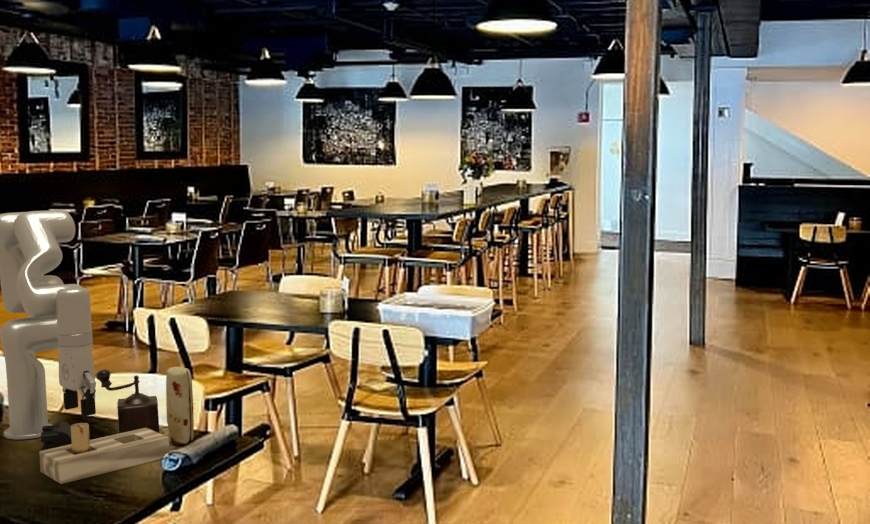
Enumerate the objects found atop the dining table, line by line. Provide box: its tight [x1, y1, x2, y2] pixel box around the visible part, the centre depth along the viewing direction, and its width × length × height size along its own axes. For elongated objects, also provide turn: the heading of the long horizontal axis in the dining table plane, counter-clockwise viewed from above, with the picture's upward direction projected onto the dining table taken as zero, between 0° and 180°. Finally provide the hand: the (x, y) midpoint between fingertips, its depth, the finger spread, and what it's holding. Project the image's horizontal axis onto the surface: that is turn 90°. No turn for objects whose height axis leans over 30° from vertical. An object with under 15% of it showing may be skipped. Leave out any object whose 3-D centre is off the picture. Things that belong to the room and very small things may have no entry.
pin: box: [70, 422, 91, 455], centre depth 219 cm, size 4×4×11 cm
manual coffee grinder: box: [95, 368, 160, 434], centre depth 245 cm, size 16×11×18 cm
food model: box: [165, 366, 195, 446], centre depth 239 cm, size 10×7×20 cm
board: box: [38, 428, 170, 485], centre depth 223 cm, size 12×27×5 cm, turn 134°
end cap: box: [40, 421, 72, 451], centre depth 233 cm, size 10×7×7 cm
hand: (79, 411), depth 217 cm, fingers open, 9 cm apart
